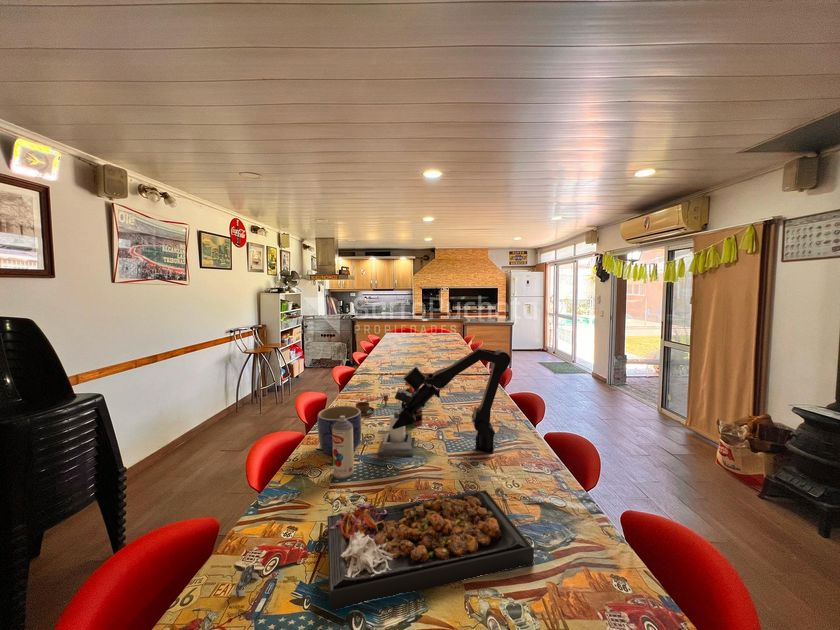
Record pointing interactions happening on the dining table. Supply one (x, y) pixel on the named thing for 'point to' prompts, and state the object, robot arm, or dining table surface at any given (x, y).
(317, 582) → the dining table surface
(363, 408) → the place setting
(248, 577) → the toy shark
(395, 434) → the white bottle
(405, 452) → the grey square tray
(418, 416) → the motor
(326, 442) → the planter
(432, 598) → the dining table surface
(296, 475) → the dining table surface
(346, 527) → the food platter
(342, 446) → the aerosol can
